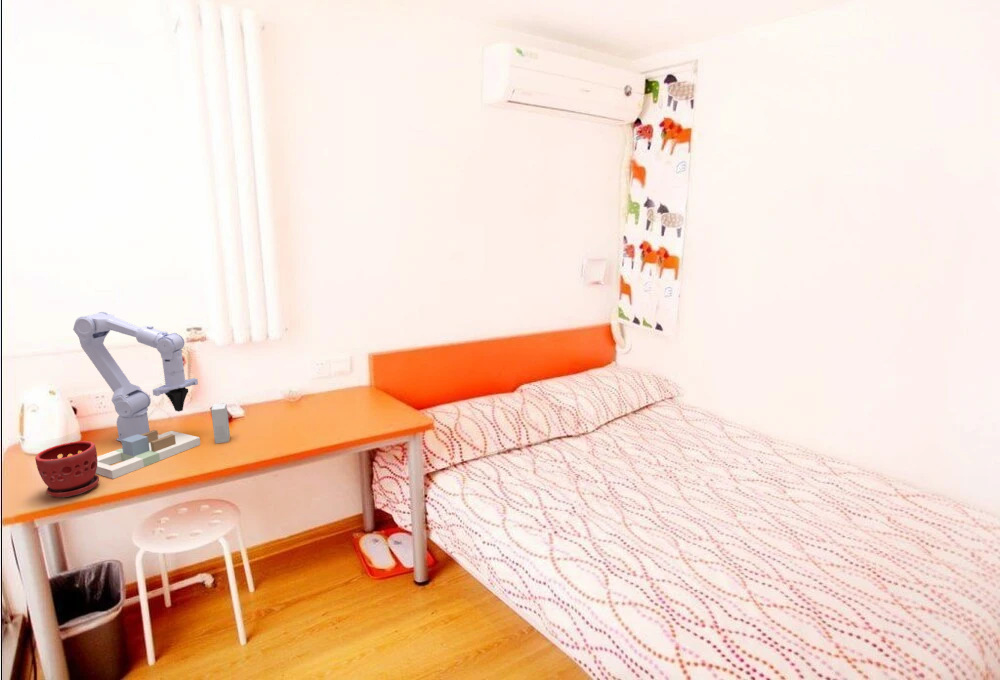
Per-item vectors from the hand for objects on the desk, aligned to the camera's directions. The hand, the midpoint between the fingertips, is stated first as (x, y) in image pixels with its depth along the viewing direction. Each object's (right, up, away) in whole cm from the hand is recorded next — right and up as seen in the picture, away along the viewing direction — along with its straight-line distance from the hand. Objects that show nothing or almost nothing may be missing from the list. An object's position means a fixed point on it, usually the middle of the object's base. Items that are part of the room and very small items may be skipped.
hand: (179, 410), depth 189 cm
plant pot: (-11, -18, -33) cm, 39 cm away
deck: (-4, -13, -11) cm, 18 cm away
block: (-5, -11, -14) cm, 18 cm away
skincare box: (+13, -10, +3) cm, 17 cm away
